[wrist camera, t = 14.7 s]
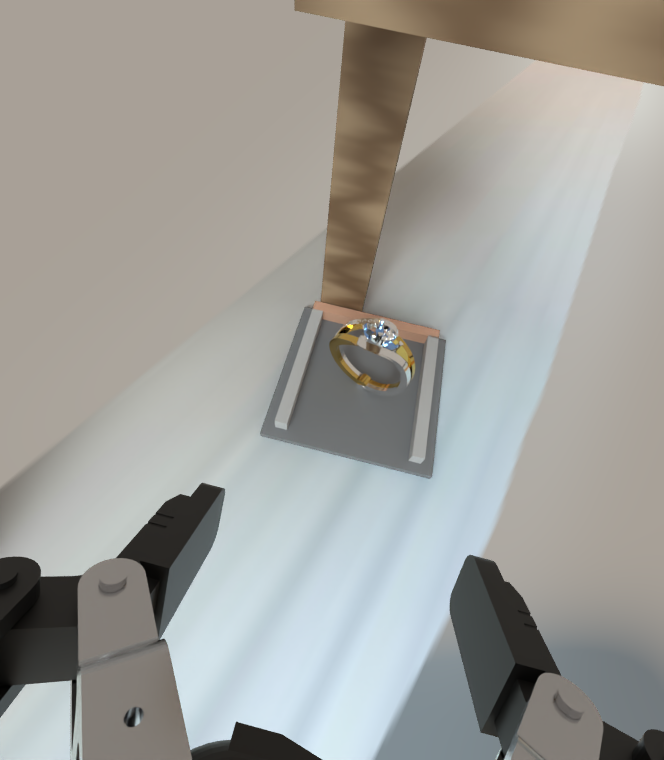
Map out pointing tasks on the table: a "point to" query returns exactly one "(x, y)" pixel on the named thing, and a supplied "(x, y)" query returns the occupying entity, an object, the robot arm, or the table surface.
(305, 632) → the table surface
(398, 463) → the seat
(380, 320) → the ring
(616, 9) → the shelf
